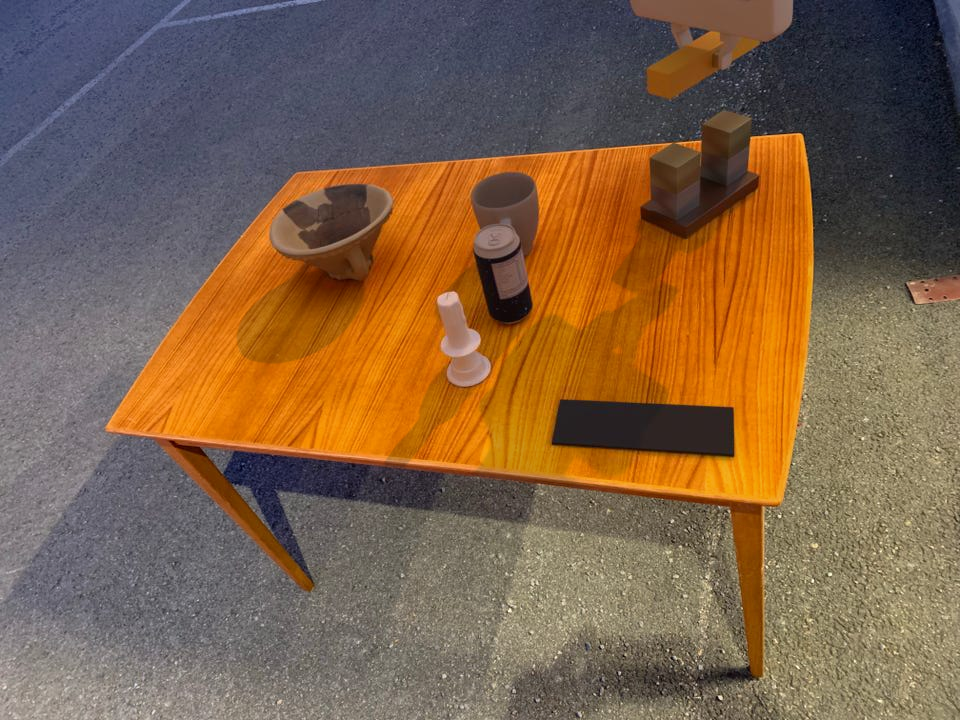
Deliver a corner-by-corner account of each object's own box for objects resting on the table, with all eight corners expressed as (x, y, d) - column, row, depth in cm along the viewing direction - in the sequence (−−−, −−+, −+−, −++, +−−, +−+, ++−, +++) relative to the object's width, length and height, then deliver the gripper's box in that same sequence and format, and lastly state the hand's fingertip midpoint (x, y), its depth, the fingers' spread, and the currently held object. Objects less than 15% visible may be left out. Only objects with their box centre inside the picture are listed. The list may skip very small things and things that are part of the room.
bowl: (428, 268, 99) (410, 211, 92) (311, 323, 95) (284, 268, 89) (384, 216, 111) (366, 162, 104) (279, 262, 107) (254, 210, 101)
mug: (484, 234, 102) (471, 177, 95) (544, 225, 101) (534, 166, 94) (482, 286, 94) (468, 227, 87) (548, 277, 92) (538, 217, 85)
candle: (466, 349, 86) (443, 273, 77) (499, 364, 83) (480, 287, 74) (438, 377, 83) (411, 302, 75) (471, 393, 80) (448, 317, 72)
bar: (759, 44, 85) (761, 19, 83) (670, 99, 80) (669, 74, 78) (736, 39, 87) (737, 15, 85) (647, 92, 82) (646, 68, 80)
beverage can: (534, 296, 90) (520, 219, 82) (532, 326, 86) (517, 248, 78) (491, 299, 91) (473, 224, 83) (487, 329, 87) (468, 253, 79)
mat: (733, 409, 71) (733, 406, 71) (734, 456, 67) (734, 454, 67) (560, 401, 77) (559, 398, 76) (551, 444, 73) (551, 442, 73)
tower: (758, 187, 97) (765, 120, 90) (685, 239, 92) (686, 173, 85) (711, 170, 102) (714, 105, 95) (640, 218, 97) (637, 154, 90)
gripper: (815, -69, 68) (798, 69, 78) (656, -82, 81) (658, 38, 91) (773, -47, 66) (762, 93, 76) (617, -63, 79) (624, 57, 89)
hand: (704, 63), depth 83 cm, fingers closed on bar, 3 cm apart
